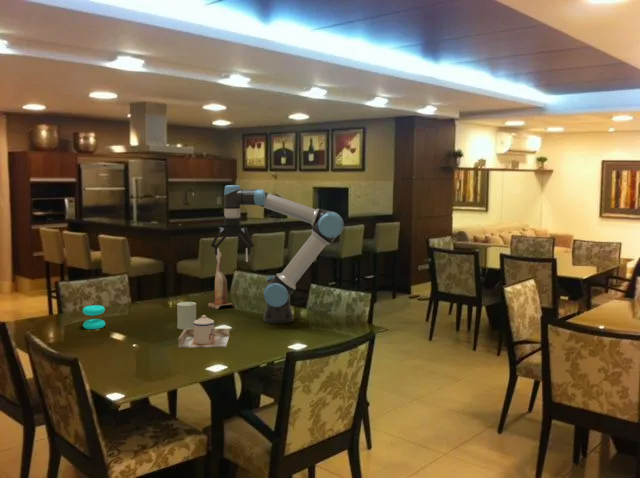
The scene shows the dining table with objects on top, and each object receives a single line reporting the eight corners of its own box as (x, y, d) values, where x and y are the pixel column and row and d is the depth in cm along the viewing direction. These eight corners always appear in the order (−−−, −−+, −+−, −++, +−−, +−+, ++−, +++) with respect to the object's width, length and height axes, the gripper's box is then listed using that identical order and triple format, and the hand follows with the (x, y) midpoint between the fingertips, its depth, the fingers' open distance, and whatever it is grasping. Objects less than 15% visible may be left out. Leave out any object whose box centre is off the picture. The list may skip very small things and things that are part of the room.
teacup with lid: (213, 344, 258) (213, 317, 257) (191, 344, 257) (191, 318, 256) (216, 337, 270) (216, 311, 269) (196, 337, 269) (195, 311, 268)
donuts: (78, 306, 289) (98, 303, 296) (79, 327, 290) (99, 324, 297) (88, 310, 282) (108, 306, 289) (89, 331, 283) (109, 327, 290)
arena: (229, 337, 274) (229, 328, 273) (226, 347, 257) (225, 337, 256) (184, 337, 272) (184, 328, 272) (178, 347, 256) (178, 338, 255)
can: (192, 330, 286) (191, 305, 285) (173, 328, 288) (173, 304, 287) (199, 325, 295) (199, 301, 294) (182, 324, 297) (181, 300, 296)
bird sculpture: (224, 304, 347) (222, 249, 345) (235, 307, 339) (234, 250, 336) (207, 307, 340) (205, 251, 337) (218, 310, 331) (216, 252, 329)
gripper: (258, 217, 294) (258, 260, 296) (207, 216, 292) (207, 260, 294) (258, 218, 286) (258, 262, 288) (205, 217, 285) (205, 262, 287)
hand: (232, 261), depth 291 cm, fingers open, 13 cm apart
